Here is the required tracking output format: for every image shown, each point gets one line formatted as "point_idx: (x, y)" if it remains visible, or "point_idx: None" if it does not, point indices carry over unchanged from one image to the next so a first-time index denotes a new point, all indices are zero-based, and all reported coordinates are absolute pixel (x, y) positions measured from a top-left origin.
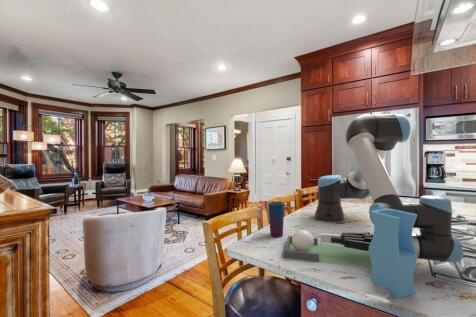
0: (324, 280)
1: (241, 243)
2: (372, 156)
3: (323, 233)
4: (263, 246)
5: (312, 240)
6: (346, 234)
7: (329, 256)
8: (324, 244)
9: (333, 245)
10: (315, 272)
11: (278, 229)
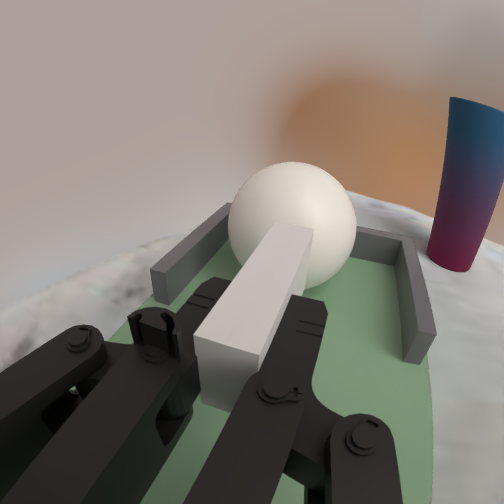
0: (51, 287)
1: (360, 198)
2: None
3: (301, 238)
4: None
5: (252, 227)
6: (327, 481)
7: None
8: (426, 403)
9: (423, 461)
10: (107, 285)
11: (442, 214)
